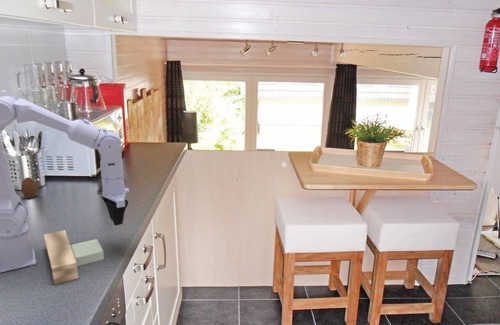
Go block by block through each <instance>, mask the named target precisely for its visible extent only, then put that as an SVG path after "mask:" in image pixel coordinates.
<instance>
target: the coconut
mask: <svg viewBox="0 0 500 325" xmlns="http://www.w3.org/2000/svg"><path fill="white" fill-rule="evenodd" d="M20 188H21V189H20V190H21V193H22V195H23V196H24V197H25V198H28V199H31V198H33V197H35V195H36V194H37V193H38V191H39V190H38V189H39V187H38V184H37V182H36V180H34V179H33V178H32V177H25V178H24V179H23V180H22V182H21V187H20Z"/></svg>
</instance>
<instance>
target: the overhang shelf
mask: <svg viewBox="0 0 500 325" xmlns="http://www.w3.org/2000/svg"><path fill="white" fill-rule="evenodd" d="M43 240H44V244H45V249H46V250H45V251H46V252H47V259H48V264H49V267H50V270H51V272H52V279H53V285H55V286H56V285H59V284H63V283H66V282H70V281H73V280H77V279H79V271H78V266H77V262H76V260H75V257H74V254H73V251H72V248H71V245H72V244H70V239H69V236H68V235H67V231H66V230H59V231H54V232H50V233H46V234H43Z"/></svg>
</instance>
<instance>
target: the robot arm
mask: <svg viewBox="0 0 500 325" xmlns="http://www.w3.org/2000/svg"><path fill="white" fill-rule="evenodd" d="M15 120H16V123H17V124H21V123H27V122H35V123H38V124H41V125H43V126H46V127H49V128H52V129H54V130H57V131H59V132H60V131H61V132H63V133H65V134H66V135H67V137H68V139H69V140H71V141H72V142H75V143H77V144H80V145H82V146H85V147H88V148H90V149H93V150H97V151H98V153H99V155H100V161H99V164H100V176H101V177H100V178H101V186H102V187H103V192H102V194H101V195H102V196H101V199H102V200H103V202H104V204H105V205H106V209H107V212H108V214H109V218H110V220H111V221H112V223H113V224H114V226H115V227H116V226H120V225H123V223H124V218H125V211H126V208H127V207H128V205H129V201H128V200H127V199H125V197H126V194H128V193H130V189H129V188H128V187H126V186H125V183H124V179H125V175H124V174H125V173H124V164H123V158H122V157H123V156H122V155H123V154H122V153H123V152H122V149H123V145H122V139H121V137H120V135H119V134H118V133H117V132H115V131H114V130H111V129H107V128H105V127H103V128H101V127H99V126H97V125H95V124H92V123H90V120H88V119H86V118H84V119H75V120H69V119H68V118H65V117H64V116H61V115H59V114H57V113H55V112H53V111H50V110H48V109H46V108H43V107H42V106H39V105H38V104H35V103H34V102H31V101H29V100H27V99H24V98H18V97H16V96H15V95H12V94H7V93H6V94H1V95H0V134H2V132H3V131H4V130H5V129H6V127H7V126H9V125H10V124H12V123H13V122H14V121H15ZM15 189H16V188H15V186H14V182H13V180H12V176H11V173H10V169H9V166H8V162H7V159H6V156H5V152H4V148H3V145H2V142H1V140H0V273H5V272H9V271H13V270H18V269H21V268H25V267H30V266H34V265H36V264H37V259H36V255H35V249H33V246H32V240H31V235H30V228H29V225H28V224H27V223H26V219H27V218H28V216H29V211H28V210H29V209H28V207H27V206H26V205H25V204H24V203H23V202H22V200H21V197H20V196H19V195H18V194H17V193H16V190H15Z"/></svg>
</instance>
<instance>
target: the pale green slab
mask: <svg viewBox="0 0 500 325" xmlns="http://www.w3.org/2000/svg"><path fill="white" fill-rule="evenodd" d="M70 245H71V248H72V251H73V254H74V257H75V260H76V262H77V267H79V266H80V267H81V266H84V265H87V264H91V263H95V262H99V261H104V260H105V256H104V255H105V254H104V249H103V247H102V246H101V244H100V241H99V240H98V239H97V238H95V239H91V240H87V241H86V240H85V241H82V242H77V243H73V244H70Z"/></svg>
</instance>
